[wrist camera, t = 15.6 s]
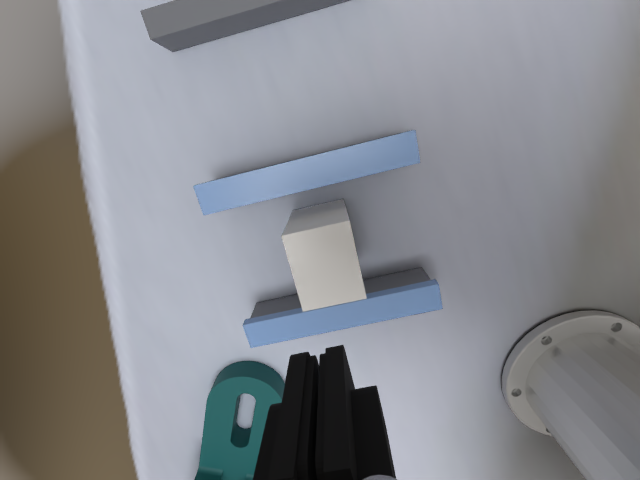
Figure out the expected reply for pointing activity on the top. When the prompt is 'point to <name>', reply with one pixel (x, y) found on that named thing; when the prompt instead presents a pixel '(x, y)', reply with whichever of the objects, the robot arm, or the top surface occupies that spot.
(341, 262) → the off-white rectangular prism
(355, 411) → the robot arm
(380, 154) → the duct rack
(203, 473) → the bracket
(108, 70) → the top surface
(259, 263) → the top surface
